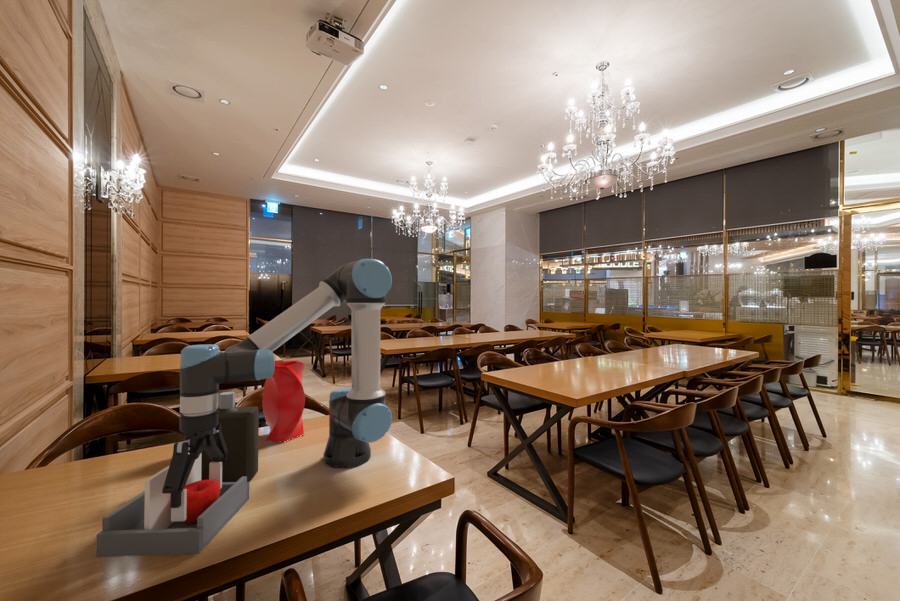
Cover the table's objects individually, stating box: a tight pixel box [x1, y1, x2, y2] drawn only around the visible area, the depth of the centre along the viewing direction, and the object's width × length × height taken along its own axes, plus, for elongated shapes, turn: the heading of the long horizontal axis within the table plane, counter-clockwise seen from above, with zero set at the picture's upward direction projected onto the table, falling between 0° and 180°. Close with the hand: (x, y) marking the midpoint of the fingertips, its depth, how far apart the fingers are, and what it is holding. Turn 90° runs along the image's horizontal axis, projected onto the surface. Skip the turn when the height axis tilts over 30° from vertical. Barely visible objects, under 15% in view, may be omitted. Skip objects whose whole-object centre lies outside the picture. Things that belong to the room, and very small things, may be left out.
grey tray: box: [95, 476, 250, 557], centre depth 85 cm, size 20×21×7 cm
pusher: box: [144, 452, 202, 529], centre depth 85 cm, size 6×17×13 cm, turn 3°
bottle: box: [201, 391, 260, 483], centre depth 107 cm, size 8×16×25 cm, turn 100°
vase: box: [261, 360, 306, 443], centre depth 142 cm, size 15×14×28 cm
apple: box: [183, 480, 220, 524], centre depth 85 cm, size 9×9×8 cm
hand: (198, 503), depth 85 cm, fingers open, 13 cm apart
